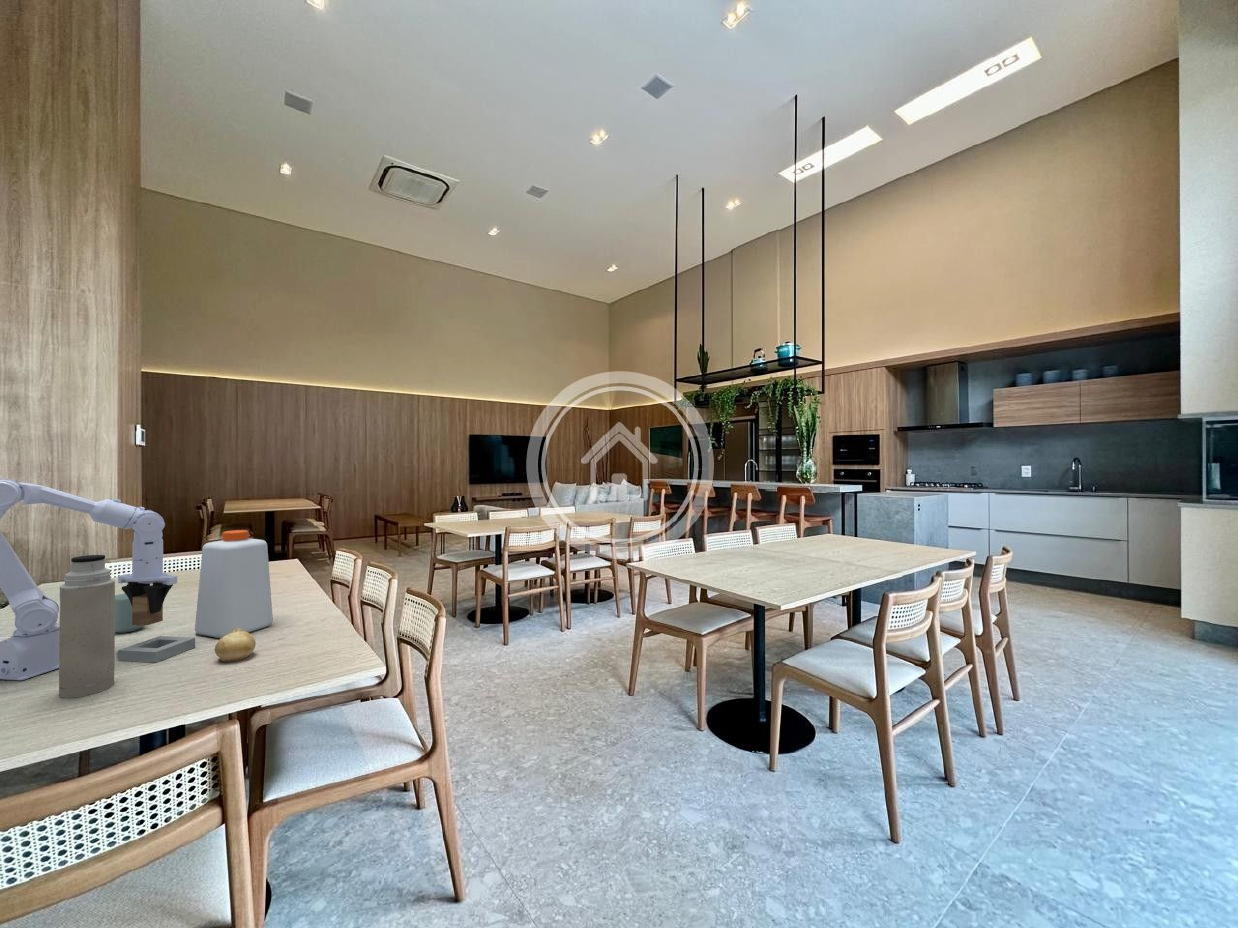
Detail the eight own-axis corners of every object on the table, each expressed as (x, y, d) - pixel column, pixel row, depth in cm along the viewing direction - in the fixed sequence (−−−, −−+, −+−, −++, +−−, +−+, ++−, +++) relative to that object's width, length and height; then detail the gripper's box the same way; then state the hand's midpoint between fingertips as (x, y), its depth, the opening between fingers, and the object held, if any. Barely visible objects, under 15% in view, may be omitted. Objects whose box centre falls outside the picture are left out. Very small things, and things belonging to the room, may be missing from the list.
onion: (263, 654, 125) (263, 625, 125) (231, 666, 118) (231, 636, 117) (239, 650, 127) (239, 622, 127) (206, 662, 120) (206, 632, 120)
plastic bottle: (244, 618, 153) (244, 526, 153) (279, 624, 148) (280, 529, 148) (187, 634, 139) (188, 533, 138) (224, 641, 134) (225, 536, 133)
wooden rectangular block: (146, 625, 126) (146, 597, 126) (132, 625, 126) (132, 597, 126) (162, 620, 130) (162, 593, 130) (148, 620, 130) (148, 593, 130)
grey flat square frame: (155, 662, 119) (155, 652, 119) (117, 660, 120) (118, 650, 120) (195, 647, 129) (195, 637, 129) (160, 645, 130) (160, 635, 130)
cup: (155, 626, 144) (155, 592, 144) (125, 636, 137) (126, 599, 137) (130, 625, 145) (131, 591, 145) (100, 634, 138) (100, 598, 137)
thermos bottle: (57, 690, 105) (58, 556, 105) (111, 677, 111) (112, 551, 111) (60, 701, 100) (61, 561, 99) (116, 688, 106) (117, 555, 106)
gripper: (188, 556, 131) (188, 608, 131) (138, 554, 132) (138, 606, 132) (161, 561, 124) (161, 616, 124) (108, 560, 125) (108, 614, 125)
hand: (147, 611), depth 128 cm, fingers closed on wooden rectangular block, 4 cm apart
